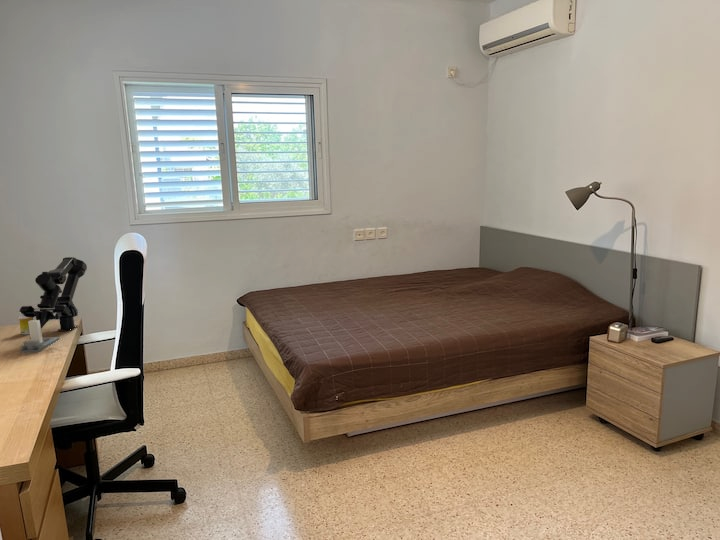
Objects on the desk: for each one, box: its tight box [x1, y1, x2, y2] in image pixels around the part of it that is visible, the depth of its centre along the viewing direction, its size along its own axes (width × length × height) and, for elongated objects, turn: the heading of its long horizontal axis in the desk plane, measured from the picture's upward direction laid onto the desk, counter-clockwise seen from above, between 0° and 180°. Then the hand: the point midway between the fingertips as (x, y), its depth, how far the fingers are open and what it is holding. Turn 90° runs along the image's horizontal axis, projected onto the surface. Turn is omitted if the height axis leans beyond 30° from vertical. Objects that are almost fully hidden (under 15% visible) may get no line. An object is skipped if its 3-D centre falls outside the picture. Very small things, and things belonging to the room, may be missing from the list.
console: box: [19, 336, 60, 354], centre depth 212 cm, size 16×7×4 cm, turn 2°
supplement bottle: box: [17, 311, 34, 335], centre depth 231 cm, size 6×6×10 cm
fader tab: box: [28, 319, 44, 346], centre depth 209 cm, size 4×4×10 cm
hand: (39, 328), depth 212 cm, fingers closed
